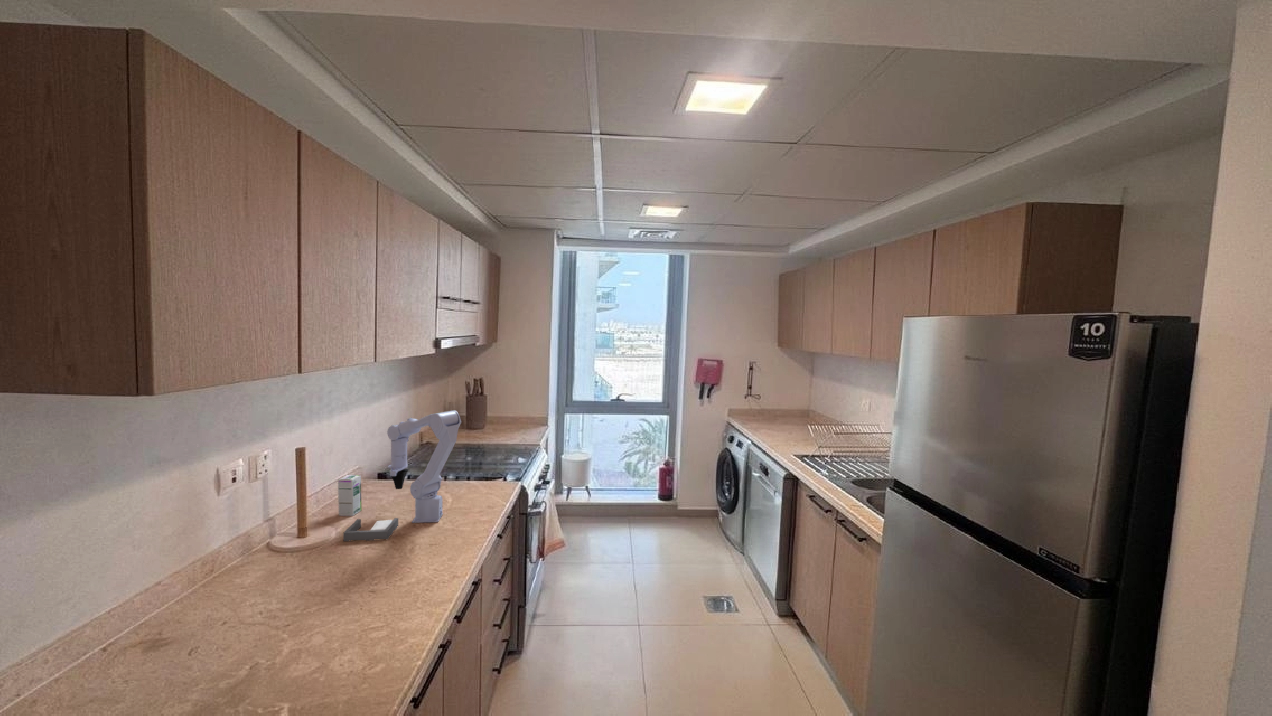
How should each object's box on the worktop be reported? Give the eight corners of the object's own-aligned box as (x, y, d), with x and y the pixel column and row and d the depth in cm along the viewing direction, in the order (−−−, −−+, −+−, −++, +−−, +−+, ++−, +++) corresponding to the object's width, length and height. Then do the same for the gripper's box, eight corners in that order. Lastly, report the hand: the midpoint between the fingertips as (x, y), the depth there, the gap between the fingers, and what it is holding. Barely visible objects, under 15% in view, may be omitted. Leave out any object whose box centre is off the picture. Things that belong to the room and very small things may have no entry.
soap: (386, 537, 170) (386, 529, 169) (369, 538, 168) (369, 530, 168) (393, 527, 178) (393, 519, 178) (376, 528, 177) (376, 520, 177)
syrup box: (353, 516, 186) (352, 479, 185) (337, 515, 186) (337, 478, 185) (361, 510, 192) (361, 474, 191) (347, 510, 192) (346, 474, 191)
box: (398, 525, 179) (398, 518, 178) (387, 539, 167) (387, 531, 167) (357, 527, 176) (357, 519, 176) (343, 541, 165) (343, 532, 165)
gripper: (394, 450, 197) (394, 482, 198) (381, 459, 183) (381, 495, 183) (412, 449, 198) (412, 482, 199) (401, 459, 184) (401, 494, 185)
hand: (399, 488), depth 191 cm, fingers closed
